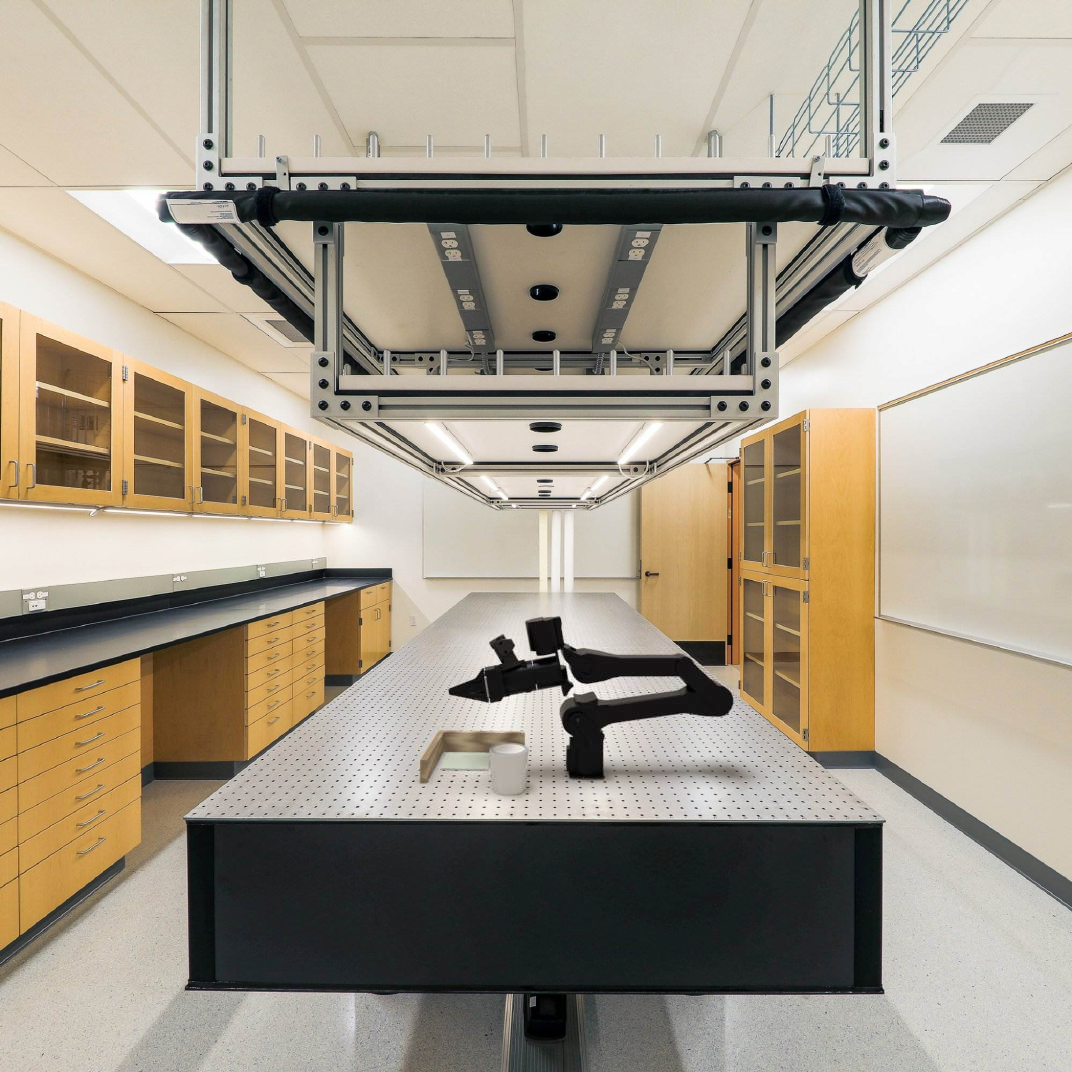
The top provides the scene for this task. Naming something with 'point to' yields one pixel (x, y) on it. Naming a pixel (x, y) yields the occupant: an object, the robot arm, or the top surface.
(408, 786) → the top surface
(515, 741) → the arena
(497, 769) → the white cup
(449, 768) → the pad
